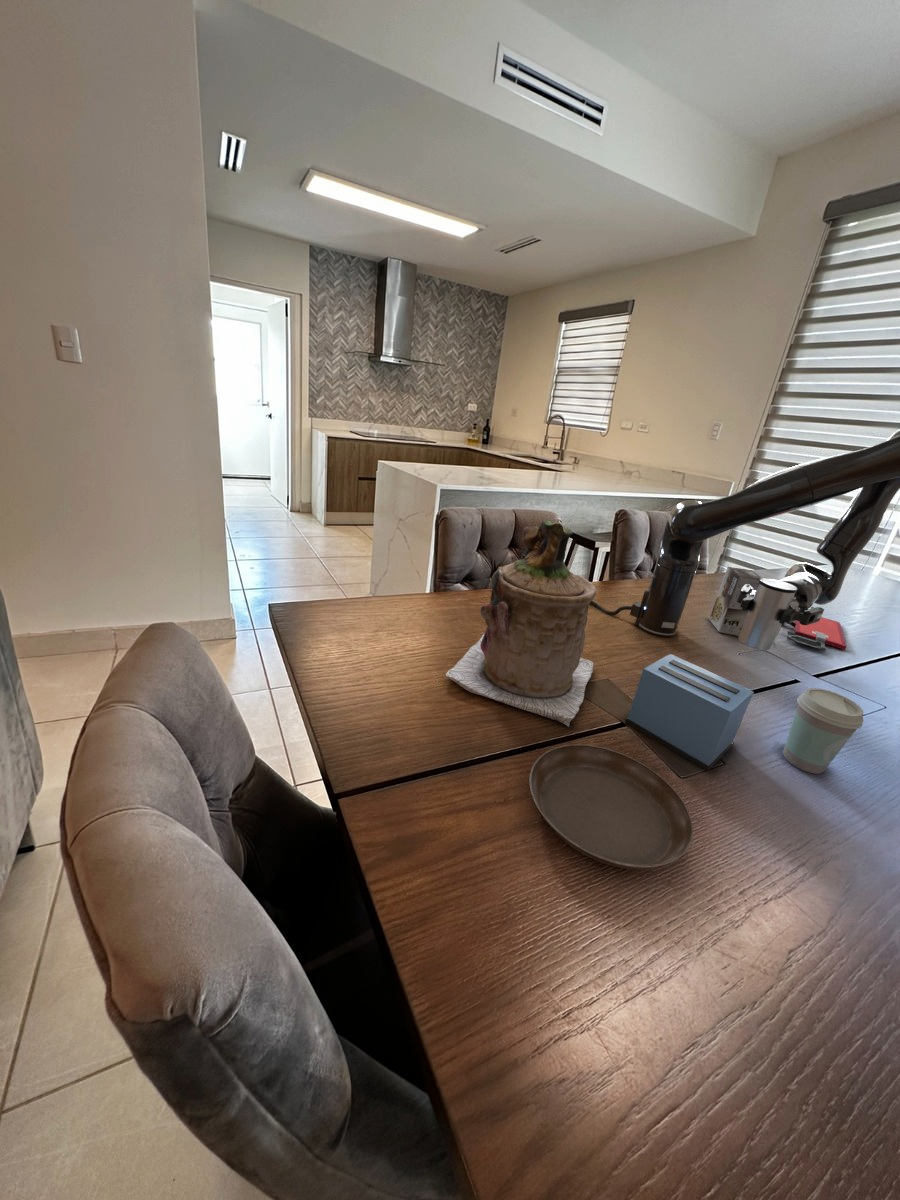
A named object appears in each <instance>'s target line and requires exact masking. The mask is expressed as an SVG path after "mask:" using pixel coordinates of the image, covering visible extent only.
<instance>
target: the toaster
mask: <svg viewBox="0 0 900 1200" xmlns="http://www.w3.org/2000/svg"><path fill="white" fill-rule="evenodd" d="M754 694H755V692H754V691H753V690H752V689H749V688H746V687H745V686H743V685H740V684H738V683H736V682H733V681H731V680H729V679H727V678H724V677H722V676H720V675H718V674H716V673H714V672H711V671H710V670H707V669H705V668H703V667H701V666H698V665H696V664H694V663H692V662H690V661H687V660H685V659H683V658H681V657H679V656H676V655H675V654H673V653H669V654H667V655H665V656H663V657H662V658H660V659H658V660H656V661H655V662H652V663H651V664H649V665H647V666H645V667H643V668H642V672H641V675H640V678H639V681H638V684H637V688H636V690H635V694H634V697H633V700H632V704H631V707H630V709H629V714H628V716H627V717H626V718H625V720H624V722H625V723H627V724H628V725H630V726H631V727H633V728H635V729H636V730H638V731H640V732H641V733H643V734H645V735H647V736H648V737H650V738H651V739H654V741H657V742H658V743H660V744H661V745H663V746H665V747H666V748H669V749H670V750H672V751H673V752H674V753H677V754H678V755H680V756H682V757H684V758H685V759H687V760H689V761H690V762H692V763H694V764H695V765H697V766H698V767H700V768H702V769H704V770H705V771H707V772H708V771H709V770H710V769H711V768H712V767H714V765H715V764H716V763H717V762H718V761H720V759H721V758H722V757H723V756H724V755H725V754H727V752H728V751H729V750H730V749H731V748H733V746H734V744H735V742H734V739H735V737H736V735H737V733H738V730H739V728H740V726H741V723H742V721H743V718H744V716H745V714H746V712H747V710H748V707H749V705H750V703H751V700H752V698H753V695H754Z"/></svg>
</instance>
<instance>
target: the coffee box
mask: <svg viewBox="0 0 900 1200" xmlns="http://www.w3.org/2000/svg"><path fill="white" fill-rule="evenodd" d="M760 579H763V577H761V575H759V574H757V572H755V571H754V570H753V569H747V568H740V567H732V566H727V568H726V571H725V573H724V576H723V579H722V582H721V584H720V587H719V590H718V593H717V596H716V599H715V602H714V605H713V607H712V611H711V613H710V616H709V619H708V620H709V622H710V623H711V624H712V625H713V626H714V628H715V629H716V630H717V631H718V633H722V634H726V635H731V636H737V637H739V635H740V632H741V629H742V627H743V624H744V622H745V619H746V617H747V614H748V611H749V610H748V611H743V610H742V607H740V605H741V604H740V603H738V602H737V599H738V596H739V594H740V591H741V589H742V588H743V586H744V585H750V586H751V588H753V590H754V591H757V588H758V586H759V581H760Z"/></svg>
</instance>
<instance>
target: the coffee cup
mask: <svg viewBox="0 0 900 1200" xmlns="http://www.w3.org/2000/svg"><path fill="white" fill-rule="evenodd" d="M796 702H797V706H796V708H795V712H794V715H793V718H792V722H791V724H790V728H789V731H788V735H787V738H786V741H785V743H784V744H785V745H784V748H783V751H782V754H783V757H784V759H786V761H787V762H788V763H790V765H793V766H794V767H796V768H797V769H799V770H802V771H804V772H807V773H811V774H814V775H815V774H819V775H820V774H822V773H824V772H825V771H826V769H827V768H828V767H829V765H830V764H831V763H832V762H833V761H834V759H835V758H836V757H837V755H838V754H839V753H840V751H841V750H842V749H843V748H844V746H845V745H846V744H847V742H848V741H849V740H850V739H851V737H852V736H853V734H854V733H855V732H856V731H857V729H861V728H862V727H863V723H864V710H863V709H862V707H861V706H860V705H859V704H857V703H856V702H855V701H853V700H852V699H850V698H848V697H846V696H844V695H842V694H840V693H837V692H835V691H831V690H827V689H823V688H818V687H815V688H814V687H811V688H807V689H806V690H805V691H803V693H801V694H799V696H798V697H797V699H796Z"/></svg>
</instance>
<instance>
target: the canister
mask: <svg viewBox="0 0 900 1200" xmlns="http://www.w3.org/2000/svg"><path fill="white" fill-rule="evenodd" d="M762 578H763V577H762ZM779 580H780V579H774V578H766V577H765V578H763V579H760V581H759V586H758V588H757V591H756V593H755V596H754V599H753V601H752V604H751V606H750V609H749V611H748V614H747V617H746V619H745V622H744V624H743V627H742V629H741V632H740V635H739V636H737V639H738V641H739V642H740V643H742V644H744V645H745V646H747V647H750V648H752V649H757V650H761V651H770V650H772V649H773V646H774V644H775V642H776V639H777V637H778V635H779V633H780V630H781V627H782V624H781V623H779V622H780V619H781V617H782V615H783V613H784V612H785V611H786V610H788V609H789V606H790V604H791V602H792V599H793V597H794V595H795V593H796V592H797V587H795V586H793V585H791V584H789V583H786V582H783V581H779Z"/></svg>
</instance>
